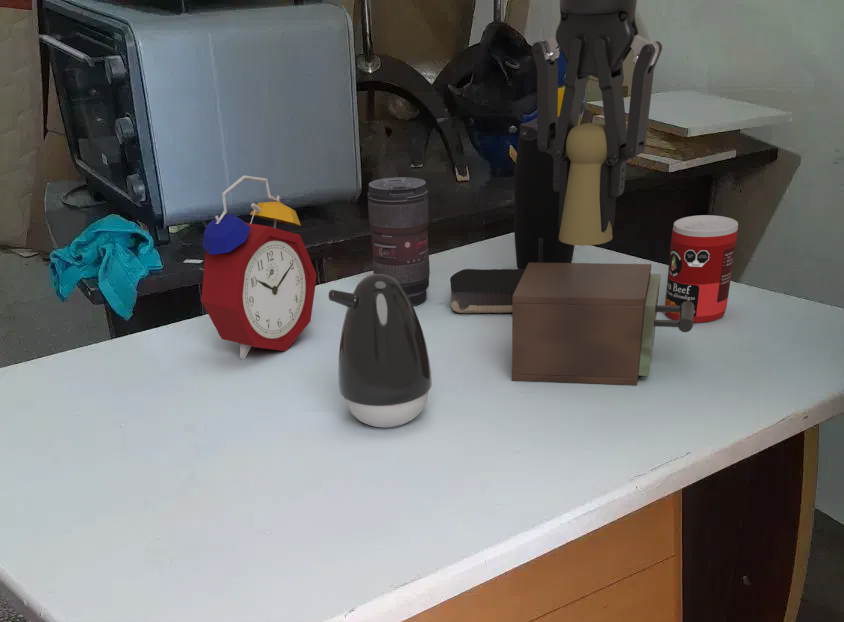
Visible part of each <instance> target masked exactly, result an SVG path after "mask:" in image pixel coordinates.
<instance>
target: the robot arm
mask: <svg viewBox="0 0 844 622" xmlns="http://www.w3.org/2000/svg"><path fill="white" fill-rule="evenodd" d="M637 5H638V0H559V12H560V20H559V23H558V25H557V27H556V30H555V34H554V35H551V36H549V37H548V38H546V39H541V40H538V41H535V42H533V44H532V47H531V52H532V56H533V59H534V64H535V67H536V76H537V77H536V86H537V87H536V102H537V103H536V104H537V105H536V115H537V116H536V118H537V146H538V149H539V150H540V151H542V152H543V151H545V152H547V153H549V154H550V155H551V156H552V157H553V160H554V171H553V188H554V191H556V192H560V196H559V223H558V227H561V221H562V215H563V208H564V202H565V196H566V189H567V182H568V175H569V169H570V162H571V161H570V159H569V157H568V155H567V151H566V140H567V136H568V133H569V132H570V130H571V129H572V128H574V127H575V126H578V125H579V119H580V115H581V109H582V105H583V100H584V95H585V90H586V87H587V84H588V83H589V80H590V77H593V78H595V79H597V81H598V88H599V90H600V91H601V99H602V106H603V118H604V125H605V128H606V138H607V147H608V157H609V159H607V160H606V162H605V163H603V164H601V180H600V196H599V198H600V216H601V232H605V231H606V230H607V227H608V223H609V221H610V224H611V227H612V228H614V227H615V218H616V205H617V198H618V197H620V196H622V195H623V193H624V191H625V183H626V170H627V162H628V161H629V160H630V159H633V158H635V157H637V156H639V155H641V154H642V153H644V151H645V150H646V143H647V135H648V126H649V116H650V108H651V99H652V91H653V83H654V81H653V80H654V72H655V69H656V66H657V63H658V61H659V58H660V56H661V53H662V52H663V45H662V43H661V42H660V41H659V40H655V41H652V42H651V41H650V40H649V39H646V38H645V37H644V36H641V35H640V34H639V28H638V25H637V22H636V10H637ZM560 51H561V53H562V55H563V58H564V59H565V62H566V71H565V75H564V81H563V85H564V90H563V95H562V100H561V106H560V111H559V64H558V59H559V58H560ZM631 51H632V52H633V55H632V62H633V64H634V67H633V72H632V78H631V87H630V88H631V90H630V97H629V108H628V118H627V117H626V108H625V107H626V106H625V98H624V87H623V84H624V81H625V75H624V64H623V63H625V60H626V59H627V57H628V56H629V54H630V53H631ZM558 117H559V120H558ZM626 118H627V120H626Z"/></svg>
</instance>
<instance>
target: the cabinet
mask: <svg viewBox="0 0 844 622" xmlns="http://www.w3.org/2000/svg"><path fill="white" fill-rule="evenodd" d="M651 272H652V264H651V263H601V262H599V263H597V262H593V263H592V262H589V263H588V262H572V263H531V262H529V263H528V265H527V267H526V269H525V272H524V274H523V276H522V278H521V280H520V282H519V284H518V286H517V288H516V290H515V292H514V294H513V307H512V313H511V315H512V317H511V318H512V321H511V322H512V324H511V327H512V328H511V333H512V334H511V381H512V382H514V381H515V382H516V381H517V382H541V383H543V382H544V383H566V384H567V383H569V384H595V385H596V384H597V385H618V386H619V385H620V386H621V385H622V386H624V385H625V386H637V385H638V381H639V375H638V371H639V360H640V349H641V338H642V327H643V316H644V305H645V300H646V295H647V289H648V284H649V279H650V274H652V273H651Z"/></svg>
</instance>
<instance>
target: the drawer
mask: <svg viewBox="0 0 844 622" xmlns="http://www.w3.org/2000/svg"><path fill="white" fill-rule="evenodd" d="M660 285H661V273H650V279H649V284H648V289H647V295H646V300H645V305H644V316H643V327H642V338H641V349H640V360H639V371H638V375H639V376H643V377H644V376H645V377H649V375H650V370H651V363H652V357H653V350H654V344H655V335H656V328H657V327H658V328H659V327H661V328H678V329H679V331H680V332H682V333H688V332H690V331H691V330H692V329H693V327H694V323H693V318H694V304H693V303H692V302H691V301H685V302H683V303H682V305H681V307H680V306H669V305H665V304H661V305H660V304H659V295H660ZM666 312H680V315H679V320H674V319H657V316H658V315H657V314H658V313H666ZM639 376H638V377H639Z"/></svg>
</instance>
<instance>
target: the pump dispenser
mask: <svg viewBox="0 0 844 622" xmlns="http://www.w3.org/2000/svg"><path fill="white" fill-rule="evenodd" d="M328 300H329V301H331V302H334V303H335V304H339V305H340V306H341V305H342V306H344V307H347V310H346V312H345V316H344V319H343V324H342V327H341V328H342V329H341V335H340V340H339V341H340V342H339V349H338V365H337V366H338V369H337V373H338V374H337V375H338V376H337V379H338V389H339V390H338V391H339V393H340V395H341V396H342V398H343V399H344V402H345V404H346V407H347V408H348V410H349V412H350V413H351V414H352V415H353V416H354V417H355V418H356V419H357V420H358V421H360V422H361V423H364V424H366V425H368V426H371V427H374V428H384V429H385V428H386V429H387V428H395V427H399V426H402V425H405V424H407V423H410V422H411V421H412V420H414V419H415V418H417V417H418V415H419V414H420V413H421V412H422V410H423V409H424V407H425V406H426V403H427V401H428V400H427V399H428V397H429V392H430V390H431V388H432V386H433V385H432V384H433V380H432V379H433V377H432V368H431V362H430V356H429V351H428V346H427V342H426V338H425V335H424V331H423V329H422V325H421V322H420V320H419V317H418V315H417V312H416V310H415V308H414V306H413V305H412V303H411V301H410V299H409V297H408V295H407V294H406V292H405V290H404V289H403V287H402V286H401V285H400V283H399V282H398V281H397V280H396V279H394V278H393V277H391V276H389V275H386V274H369V275H367V276H366V277H364V278H363V279H361V280H360V281H359V282H358V284H357V286H356V287H355V289H354V291H353V293H352V292H346V291H343V290H337V289H330V290H329V292H328Z"/></svg>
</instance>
